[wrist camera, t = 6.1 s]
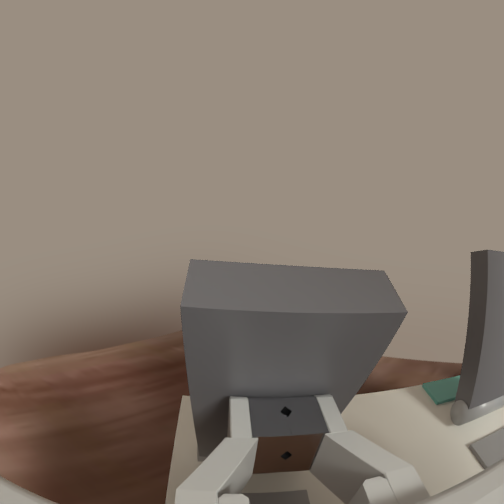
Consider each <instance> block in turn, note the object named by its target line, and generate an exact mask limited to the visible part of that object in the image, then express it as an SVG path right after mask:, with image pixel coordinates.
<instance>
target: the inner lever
mask: <svg viewBox="0 0 504 504" xmlns="http://www.w3.org/2000/svg"><path fill="white" fill-rule="evenodd" d="M502 407H504V252H500V251H493V250H483V251H476V252H471V286H470V305H469V318H468V327H467V336H466V344H465V351H464V358H463V363H462V369H461V374H460V379H459V384H458V389H457V393H456V398H455V402H454V403H453V405H452V407H451V411H450V416H451V420H452V422H453V423H454V424H455V425H457V426H460V425H463V424H465V423H468V422H470V421H473V420H475V419H477V418H480V417H482V416H484V415H487V414H489V413H491V412H493V411H496V410H498V409H500V408H502Z"/></svg>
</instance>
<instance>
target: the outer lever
mask: <svg viewBox="0 0 504 504" xmlns="http://www.w3.org/2000/svg"><path fill="white" fill-rule="evenodd" d="M180 307H181V320H182V331H183V342H184V351H185V361H186V369H187V378H188V386H189V393H190V401H191V408H192V414H193V421H194V427H195V434H196V440H197V459H198V461H201V462H203V461H204V460H205V459H206V458H207V457H208V456H209V455H210V454H211V453H212V452H213V450H214V449H215V448H216V447H217V446H218V445H219V444H220V443H221V442H222V441H223V439H224V438H225V437H227V432H228V411H229V398H230V396H235V397H247V398H248V397H300V396H314V395H325V394H330V395H332V396H333V399H334V401H335V403H336V405H337V407H338V409H339V412H340V414H341V413H342V412H343V411H344V409H345V408H346V407H347V405H348V404H349V403H350V401H351V400H352V399H353V397H354V396H355V395H356V393H357V392H358V391H359V389H360V388H361V386H362V385H363V383H364V382H365V381H366V379H367V378H368V376H369V375H370V373H371V372H372V370H373V369H374V367H375V366H376V364H377V363H378V361H379V360H380V358H381V357H382V355H383V353H384V352H385V350H386V349H387V347H388V345H389V344H390V342H391V340H392V339H393V337H394V335H395V334H396V332H397V330H398V329H399V327H400V325H401V323H402V322H403V320H404V318H405V316H406V314H407V313H408V312H407V310H406V308H405V306H404V305H403V303H402V301H401V299H400V298H399V296H398V294H397V292H396V290H395V289H394V287H393V285H392V283H391V282H390V280H389V278H388V276H387V275H386V273H385V272H384V271H379V270H358V269H339V268H322V267H303V266H286V265H270V264H254V263H238V262H223V261H208V260H193V259H191V260H190V264H189V269H188V273H187V278H186V282H185V287H184V292H183V296H182V301H181V306H180Z"/></svg>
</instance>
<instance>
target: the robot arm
mask: <svg viewBox="0 0 504 504" xmlns="http://www.w3.org/2000/svg"><path fill="white" fill-rule="evenodd" d="M307 470H310V472H311V473H312V474H313V475H314V476H315V477H316V478H317V479H318V480H319V481H320V482H321V483H322V484H323V485H325V486H326V487H327V488H328V489H329V490H330V491H331V492H332V493H333V494H335V495H336V496H337V497H338V498H339V499H340V500H341V501H343V502H344V503H345V504H504V458H502V459H501V460H499V461H497V462H496V463H494V464H493V465H491V466H489V467H488V468H486V469H484V470H483V471H481V472H479V473H477V474H476V475H474V476H472V477H470V478H468V479H466V480H465V481H463V482H461V483H459V484H457V485H455V486H453V487H451V488H449V489H446V490H444V491H442V492H440V493H438V494H436V495H433V496H431V497H430V495H429V493H428V491H427V490H426V488H425V486H424V484H423V482H422V481H421V479H420V477H419V475H418V473H417V472H416V470H415V468H414V466H413V465H411V464H409V463H407V462H406V461H404V460H402V459H400V458H398V457H397V456H395V455H393V454H391V453H390V452H388V451H386V450H385V449H383V448H381V447H379V446H378V445H376V444H374V443H373V442H371V441H369V440H368V439H366V438H365V437H363V436H361V435H360V434H358V433H357V432H355V431H353V430H350V431H348V429H347V427H346V425H345V423H344V420H343V418H342V416H341V414H340V412H339V409H338V407H337V405H336V403H335V401H334V399H333V396H332V395H330V394H325V395H314V396H300V397H248V398H247V397H235V396H230V398H229V411H228V432H227V437H225V438H224V439H223V441H222V442H221V443H220V444H219V445H218V446H217V447H216V448H215V449H214V450H213V452H212V453H211V454H210V455H209V456H208V457H207V458H206V459H205V460H204V461H203V462H202V463H201V464H200V465H199V466H198V467H197V469H196V470H195V471H194V472H193V473H192V474H191V475H190V476H189V477H188V478H187V479H186V480H185V481H184V482H183V483H182V484H181V485H180V486H179V487H178V488H177V489H176V495H175V504H249V498H248V497H246V496H245V495H243V494H240V493H241V491H242V490H243V489H244V487H245V486H246V484H247V483H248V481H249V479H250V478H251V476H252V474H262V473H277V472H293V471H307ZM0 504H58V503H56V502H53V501H51V500H49V499H46V498H44V497H42V496H39V495H37V494H35V493H33V492H30V491H28V490H26V489H24V488H22V487H20V486H18V485H16V484H14V483H12V482H10V481H9V480H7V479H5V478H3V477H1V476H0Z"/></svg>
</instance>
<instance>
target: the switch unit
mask: <svg viewBox="0 0 504 504" xmlns="http://www.w3.org/2000/svg"><path fill="white" fill-rule="evenodd" d="M459 379H460V375H459V376H455V377H451V378H447V379H442V380H438V381H433V382H428V383H423V385H418V386H413V387H407V388H401V389H395V390H389V391H382V392H374V393H367V394H358V395H355V396H354V397H353V399H352V400H351V401H350V403H349V404H348V405H347V407H346V408H345V409H344V411H343V412H342V413H341V416H342V418H343V420H344V423H345V425H346V427H347V429H348V431H350V430H353V431H355V432H357V433H358V434H360V435H361V436H363V437H365V438H366V439H368V440H369V441H371V442H373V443H374V444H376V445H378V446H379V447H381V448H383V449H385V450H386V451H388V452H390V453H391V454H393V455H395V456H397V457H398V458H400V459H402V460H404V461H406V462H407V463H409V464H411V465H413V466H414V468H415V470H416V472H417V473H418V475H419V477H420V479H421V481H422V482H423V484H424V486H425V488H426V490H427V491H428V493H429V495H430V497H431V496H433V495H436V494H438V493H440V492H442V491H444V490H446V489H449V488H451V487H453V486H455V485H457V484H459V483H461V482H463V481H465V480H466V479H468V478H470V477H472V476H474V475H476V474H477V473H479V472H481V471H483V470H484V469H486V468H488V467H489V466H491V465H493V464H494V463H496V462H497V461H499V460H501V459H502V458H504V407H502V408H500V409H498V410H496V411H493V412H491V413H489V414H487V415H484V416H482V417H480V418H477V419H475V420H473V421H470V422H468V423H465V424H463V425H460V426H457V425H455V424H454V423H453V422H452V420H451V416H450V411H451V407H452V405H453V403H454V402H455V398H456V393H457V389H458V384H459ZM201 463H202V462H201V461H198V459H197V440H196V434H195V427H194V421H193V414H192V408H191V401H190V396H184V395H182V401H181V407H180V412H179V418H178V424H177V429H176V435H175V441H174V448H173V454H172V460H171V467H170V473H169V480H168V487H167V494H166V501H165V504H175V495H176V489H177V488H178V487H179V486H180V485H181V484H182V483H183V482H184V481H185V480H186V479H187V478H188V477H189V476H190V475H191V474H192V473H193V472H194V471H195V470H196V469H197V467H198V466H199V465H200V464H201ZM240 494H243V495H245V496H246V497H248V498H249V504H345V503H344V502H343V501H341V500H340V499H339V498H338V497H337V496H336V495H335V494H333V493H332V492H331V491H330V490H329V489H328V488H327V487H326V486H325V485H323V484H322V483H321V482H320V481H319V480H318V479H317V478H316V477H315V476H314V475H313V474H312V473H311V472H310V470H307V471H293V472H277V473H262V474H252V476H251V478H250V479H249V481H248V483H247V484H246V486H245V487H244V489H243V490H242V491H241V493H240Z"/></svg>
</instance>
